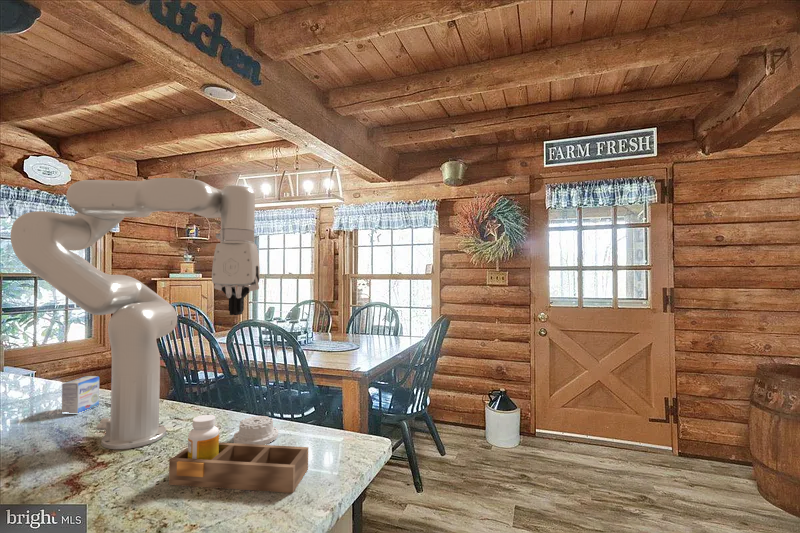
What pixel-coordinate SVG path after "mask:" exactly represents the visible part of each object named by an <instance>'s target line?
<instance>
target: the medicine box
mask: <svg viewBox="0 0 800 533" xmlns="http://www.w3.org/2000/svg"><path fill="white" fill-rule="evenodd" d="M61 384H62V385H61V386H62V387H61V388H62V389H61V413H62V412H69V413H79V412H82V411H85V410H87V409H90V408H92V407H94V406H97V405H98V406H99V405H100V376H98V375H97V376H96V375H87V376H86V375H85V376H82V377H80V378H76V379H73V380H70V381H67V382H64V383H61ZM98 406H97V407H98ZM94 408H95V407H94ZM92 409H93V408H92ZM90 410H91V409H90Z"/></svg>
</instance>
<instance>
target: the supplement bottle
mask: <svg viewBox="0 0 800 533" xmlns="http://www.w3.org/2000/svg"><path fill="white" fill-rule="evenodd" d="M192 428H193V429H190V431H189V433H188V437H187V448H188V459H203V460H212V459H213V458H214V457H215V456H217V455H218V454H219V442H220V430H219V428H218V427H217V426H216V416H215V415H213V414H202V415H197V416H196V417H194V418H192Z"/></svg>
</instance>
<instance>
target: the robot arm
mask: <svg viewBox="0 0 800 533" xmlns="http://www.w3.org/2000/svg"><path fill="white" fill-rule="evenodd" d="M66 190H67V191H66V201H67V203H68V205H69V206H70V207H71V208H72V209H73V210H74V211H75V212H77V213H75V214H74V215H69V214H63V213H59V212H54V211H53V212H52V211H46V210H44V211H41V210H40V211H37V210H36V211H30V212H27V213H24V214H21V215H19V217H17V218H16V219H15V220H14V222H13V223H12V226H11V230H10V242H11V243H10V245H11V247H12V249H13V252H14V254H15V256H16V258H17V259H18V260H19V261H20V262H21V263H22V264H23V265H24V266H25V267H26V268H27V269H28V270H29V271H31V272H32V273H34V274H35V275H36V276H38V277H39V278H40V279H42V280H43V281H45V282H46V283H48V284H49V285H50V286H52V287H53V288H54V289H55V290H57V291H58V292H59V293H61V294H62V295H63V296H65V297H66V298H67V299H68V300H71V301H72V302H73V303H74V304H75V305H77V306H78V307H79V308H81V309H82V310H84V311H85V312H86V313H87V314H91V315H95V316H105V315H111V314H112V315H111V317H110V318H109V320H108V324H107V325H108V326H107V333H108V340H109V344H110V350H111V352H110V353H111V384H110V385H111V386H110V387H111V390H110V391H111V392H110V393H111V394H110V417H104V418H102V419H101V420H100V421H99V423H98V424H97V425H96V429H97V431H105V435H104V436H103V437H102V438H101V446H102V447H103V448H105V449H110V450H127V449H133V448H139V447H144V446H147V445H150V444H152V443H155V442H157V441H159V440H161V439H162V438H164V437H165V435H166V433H167V428H166V426H164V425H162V424H159V423H160V391H161V390H160V387H161V383H160V382H161V356H160V355H161V354H160V349H159V347H158V343H157V342H158V341H157V339H161V338H163V337H164V336H165V337H166V336H167V335H169V334H170V333H172V332H173V330H175V328H176V326H177V324H178V315H177V312H176V309H175V308H174V307H173V305H171V303H170V302H168V301H167V300H166V299H164V298H163V297H162V296H160V295H159V294H158V293H156V292H155V291H154V290H152V289H151V288H150V287H149V286H147V285H146V284H144V282H141V281H140V280H138V279H136V278H134V277H133V276H130V275H126V274H125V275H124V274H109V273H106V272H104V271H102V270H100V269H98V268H97V267H95V265H93V264H91V263H90V262H89V261H88V260H86V259H85V258H84V257H82V256H80V255H79V254H77V253H74V252H73V251H83V250H85V249H87V248H90V247H92V246H93V245H94V244H96V243H97V242H98V241H99V240H100V239H102V238H103V237H104V236H105V235H107V234H108V233H109V232H110V231H111V230H113V229H114V228H115V227H116V226H117V225H118V224H120V223H121V222H122V221H123V220H124V219H125V218H146V217H149V216H151V214H152V213H156V212H180V213H181V212H182V213H191V214H195V215H197V216H200V217H203V218H206V219H218V218H220V230H219V233H218V232H217V233H216V234H215V238H216V239H217V240H219V241H220V243H219V242H218V243H216V245H215V249H214V254H213V259H212V267H211V268H212V269H211V270H212V271H211V282H212V283H213V284H214V286H213V288H214V289H215V290H218V291H220V292H221V291H222V292H223V293H224V294H225V295H226V298H227V299H228V311H229V316H239V315H243V311H244V310H245V298H246V297H247V295H248V294H249V293H250V292H254V291H258V290H259V289H260V284H259V283H260V278H261V277H260V276H261V274H260V273H261V272H260V271H261V270H260V257H259V256H260V255H259V251H258V247H257V244H256V243H255V220H256V217H255V216H256V213H255V212H256V211H255V210H256V209H255V208H256V193H255V191H254V190H253V189H252V188H250V187H247V186H245V185H243V186H242V185H226V186H225V187H222V189H219V188H217V187H214V186H212V185H210V184H208V183H206V182H204V181H202V180H199V179H194V178H182V177H181V178H180V177H178V178H177V177H156V178H150V179H144V180H113V179H112V180H111V179H82V180H78V181H76V182H74V183H72V184H71V185H70V186H69V187H68V189H66Z"/></svg>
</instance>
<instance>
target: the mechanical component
mask: <svg viewBox="0 0 800 533" xmlns="http://www.w3.org/2000/svg"><path fill="white" fill-rule="evenodd" d="M238 426H239V429H238V431H236V432H235V433H234V434H233V443H240V444H258V445H265V444H266V445H269V444H271V443H272V441H273V440H275V439H276V438H277V437H279V430H278V428H276V427H274V419H273V417H269V416H266V415H257V416H251V417H248V418H244V419H242V420H241V421H240V422H239V424H238ZM277 439H278V438H277ZM277 439H276V440H277ZM276 440H275V441H276ZM270 442H271V443H270ZM273 442H274V441H273Z"/></svg>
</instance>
